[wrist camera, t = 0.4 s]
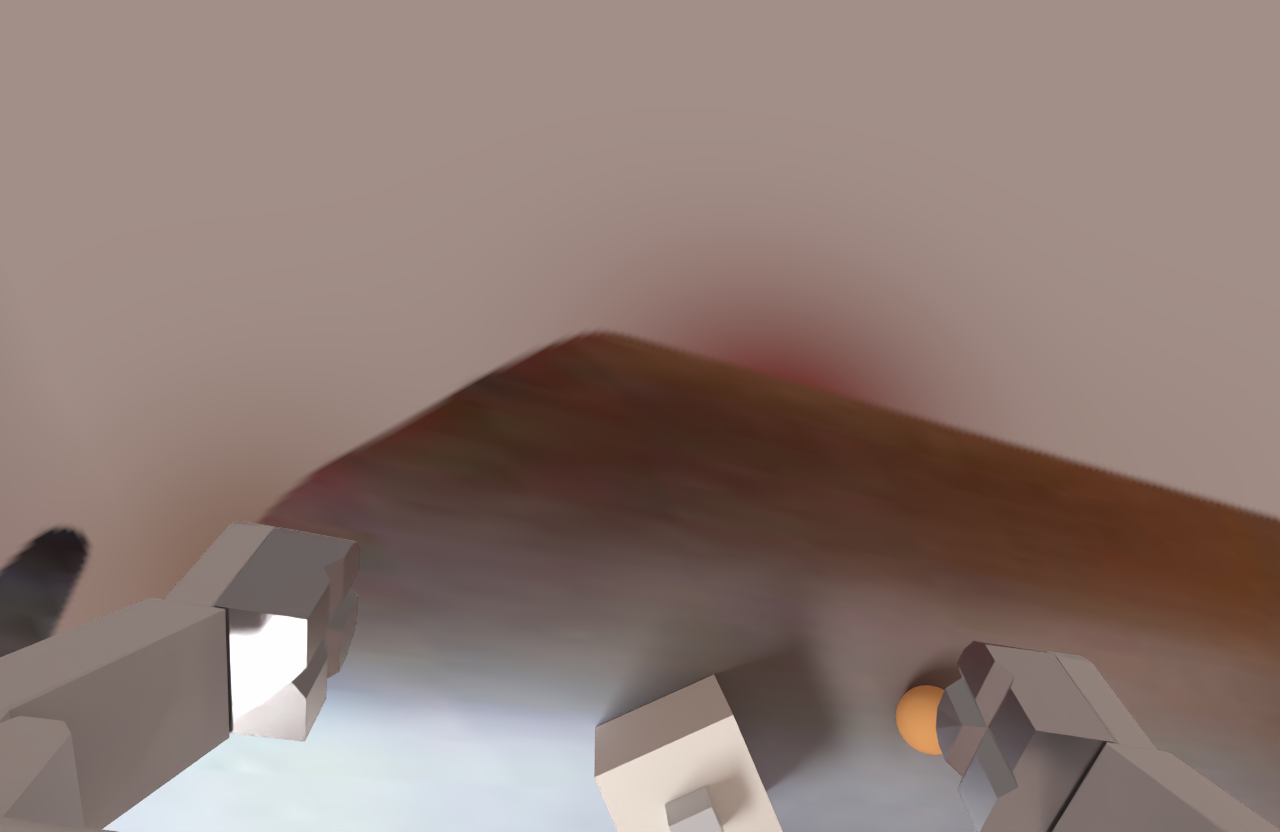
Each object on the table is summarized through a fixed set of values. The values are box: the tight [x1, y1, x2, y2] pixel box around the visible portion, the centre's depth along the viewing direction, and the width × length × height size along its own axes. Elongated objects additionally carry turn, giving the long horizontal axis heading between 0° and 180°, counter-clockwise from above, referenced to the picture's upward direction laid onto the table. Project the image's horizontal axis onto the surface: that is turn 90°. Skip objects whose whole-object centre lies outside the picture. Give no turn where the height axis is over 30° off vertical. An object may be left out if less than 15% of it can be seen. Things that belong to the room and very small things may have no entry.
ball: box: [896, 685, 944, 755], centre depth 60 cm, size 5×5×5 cm
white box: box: [595, 675, 783, 832], centre depth 56 cm, size 10×10×12 cm
